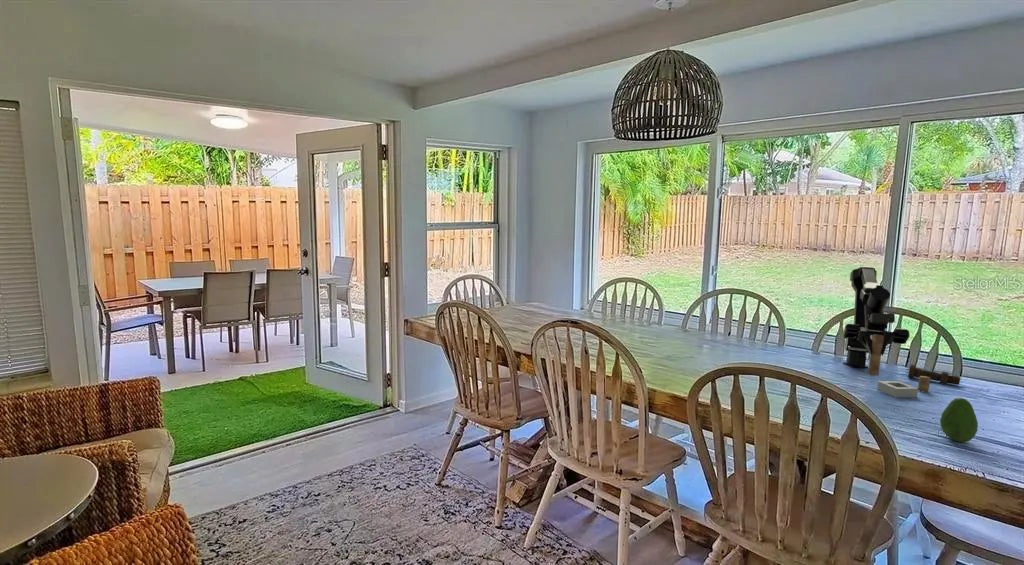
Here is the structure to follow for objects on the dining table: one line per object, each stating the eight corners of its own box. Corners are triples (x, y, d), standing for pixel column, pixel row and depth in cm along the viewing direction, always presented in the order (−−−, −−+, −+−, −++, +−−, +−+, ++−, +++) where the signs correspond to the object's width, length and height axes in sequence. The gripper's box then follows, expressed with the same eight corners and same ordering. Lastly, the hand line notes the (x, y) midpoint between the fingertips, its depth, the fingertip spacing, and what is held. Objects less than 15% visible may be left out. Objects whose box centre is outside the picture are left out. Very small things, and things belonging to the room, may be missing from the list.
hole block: (877, 389, 192) (878, 381, 192) (897, 389, 193) (898, 381, 193) (895, 397, 184) (896, 389, 184) (917, 397, 185) (918, 388, 185)
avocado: (957, 434, 155) (964, 394, 153) (982, 447, 147) (989, 404, 145) (930, 434, 154) (936, 393, 153) (953, 446, 147) (960, 403, 145)
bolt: (957, 391, 199) (907, 380, 208) (959, 382, 202) (909, 372, 211) (960, 380, 196) (909, 369, 205) (961, 370, 199) (911, 361, 208)
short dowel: (915, 389, 194) (917, 375, 193) (923, 389, 194) (925, 375, 193) (922, 392, 191) (924, 378, 190) (930, 392, 191) (932, 378, 190)
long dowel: (866, 373, 191) (871, 334, 189) (872, 372, 192) (877, 333, 190) (873, 375, 188) (878, 336, 186) (880, 375, 189) (885, 335, 187)
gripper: (848, 301, 194) (849, 338, 185) (912, 306, 186) (916, 345, 178) (842, 318, 202) (843, 355, 194) (903, 324, 195) (907, 362, 186)
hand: (876, 354), depth 188 cm, fingers closed on long dowel, 3 cm apart
